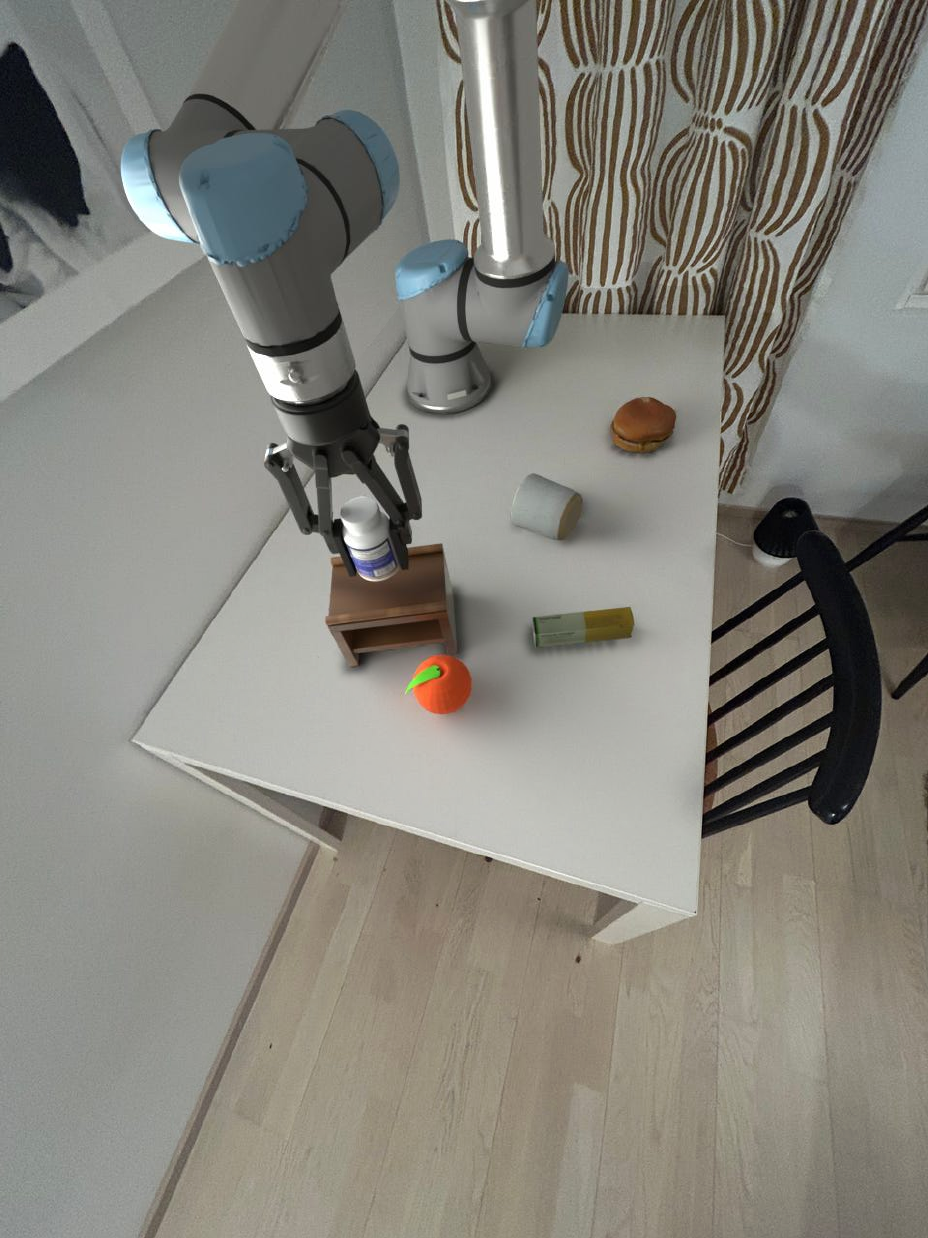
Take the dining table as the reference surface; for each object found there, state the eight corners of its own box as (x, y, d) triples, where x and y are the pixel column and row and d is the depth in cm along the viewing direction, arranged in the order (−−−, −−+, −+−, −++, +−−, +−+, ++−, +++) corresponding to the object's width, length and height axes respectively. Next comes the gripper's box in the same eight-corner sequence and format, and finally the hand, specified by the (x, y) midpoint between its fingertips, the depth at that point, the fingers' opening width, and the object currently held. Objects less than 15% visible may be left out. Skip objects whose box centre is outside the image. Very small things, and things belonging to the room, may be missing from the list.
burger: (621, 460, 91) (625, 435, 87) (602, 424, 96) (605, 399, 93) (683, 446, 91) (689, 421, 87) (661, 412, 96) (665, 386, 93)
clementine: (422, 737, 68) (410, 710, 62) (402, 690, 72) (389, 661, 66) (484, 709, 69) (478, 680, 63) (461, 664, 73) (453, 633, 67)
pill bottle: (363, 547, 69) (341, 490, 62) (406, 548, 68) (389, 490, 61) (352, 582, 66) (328, 527, 59) (397, 584, 65) (378, 528, 58)
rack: (352, 604, 81) (330, 556, 72) (452, 592, 80) (441, 541, 72) (349, 666, 75) (324, 621, 67) (457, 653, 74) (445, 606, 66)
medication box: (534, 649, 73) (533, 635, 70) (532, 630, 75) (530, 615, 71) (632, 639, 72) (635, 623, 69) (627, 620, 73) (631, 604, 70)
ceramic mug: (561, 553, 81) (563, 513, 75) (510, 534, 85) (508, 494, 78) (594, 505, 86) (598, 464, 80) (544, 489, 89) (544, 448, 83)
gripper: (195, 424, 46) (297, 600, 65) (424, 390, 45) (460, 579, 64) (213, 370, 51) (304, 550, 69) (421, 339, 50) (456, 530, 68)
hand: (379, 563), depth 67 cm, fingers closed on pill bottle, 5 cm apart
